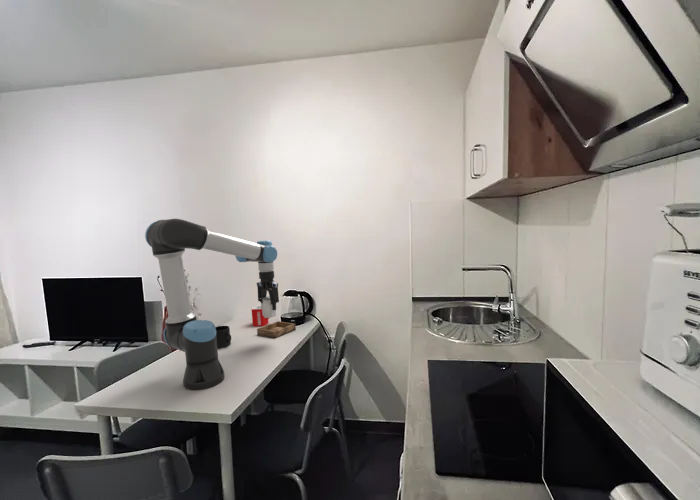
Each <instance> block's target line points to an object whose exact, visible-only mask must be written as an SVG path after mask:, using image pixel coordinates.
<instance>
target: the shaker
mask: <svg viewBox="0 0 700 500" xmlns="http://www.w3.org/2000/svg"><path fill="white" fill-rule="evenodd" d="M262 300H263V312H264V318H269V319H271V318H272V317H271V308H270V304H271V300H270V296H269V295H268V296H266V297H263V298H262Z"/></svg>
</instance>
